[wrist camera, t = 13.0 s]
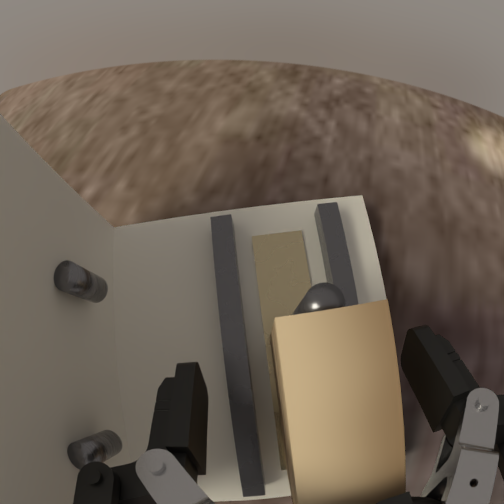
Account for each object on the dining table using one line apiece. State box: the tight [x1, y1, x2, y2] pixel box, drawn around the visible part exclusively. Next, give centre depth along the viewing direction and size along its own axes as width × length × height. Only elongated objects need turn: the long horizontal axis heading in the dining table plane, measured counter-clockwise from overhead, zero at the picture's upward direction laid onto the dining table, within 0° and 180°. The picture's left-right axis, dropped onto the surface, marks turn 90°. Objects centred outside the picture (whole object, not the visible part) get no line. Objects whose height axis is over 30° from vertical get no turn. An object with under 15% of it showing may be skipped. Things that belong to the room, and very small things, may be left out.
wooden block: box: [270, 282, 406, 504], centre depth 11 cm, size 3×9×10 cm, turn 7°
